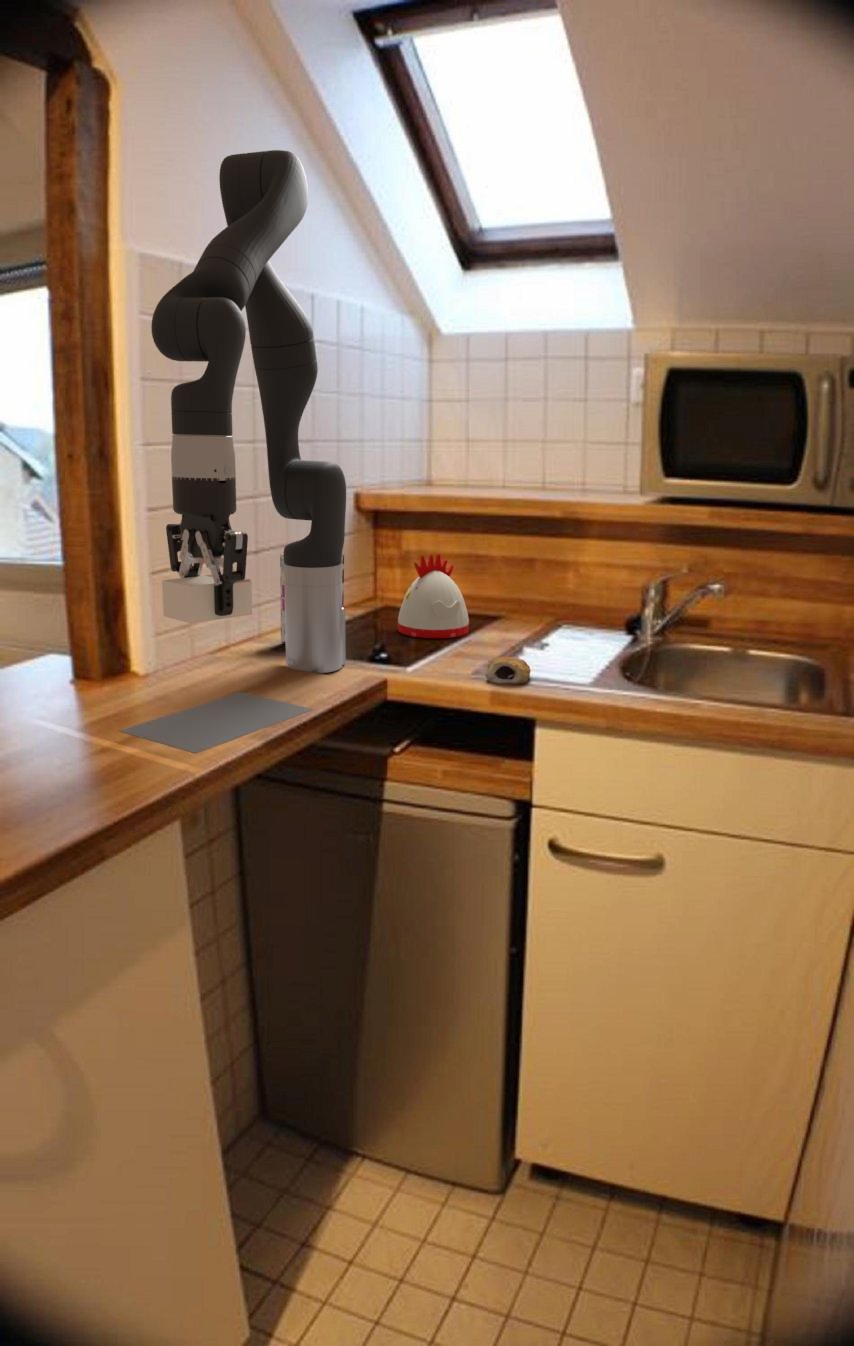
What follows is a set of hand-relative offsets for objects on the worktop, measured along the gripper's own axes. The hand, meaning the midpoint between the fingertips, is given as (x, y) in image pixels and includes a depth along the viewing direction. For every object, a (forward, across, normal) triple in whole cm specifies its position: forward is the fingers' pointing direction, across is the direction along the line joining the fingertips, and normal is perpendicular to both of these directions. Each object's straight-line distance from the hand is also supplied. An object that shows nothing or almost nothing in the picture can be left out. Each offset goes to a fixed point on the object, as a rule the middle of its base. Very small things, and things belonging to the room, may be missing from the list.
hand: (208, 610), depth 117 cm
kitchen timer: (+15, -22, +67) cm, 72 cm away
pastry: (+16, +10, +50) cm, 53 cm away
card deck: (+1, 0, 0) cm, 1 cm away
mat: (+16, -3, +3) cm, 17 cm away
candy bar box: (+15, -30, +44) cm, 55 cm away
